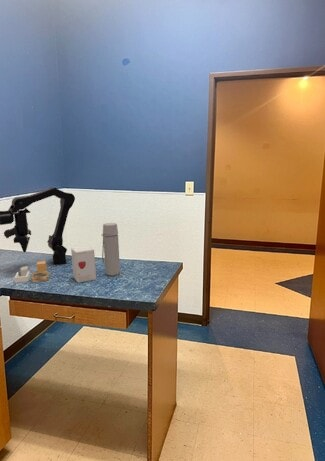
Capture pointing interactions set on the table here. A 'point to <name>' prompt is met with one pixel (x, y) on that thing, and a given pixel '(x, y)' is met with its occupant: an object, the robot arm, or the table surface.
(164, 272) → the table surface
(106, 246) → the water bottle
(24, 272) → the block
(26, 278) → the clip
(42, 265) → the orange block
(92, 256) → the supplement box
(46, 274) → the holder
